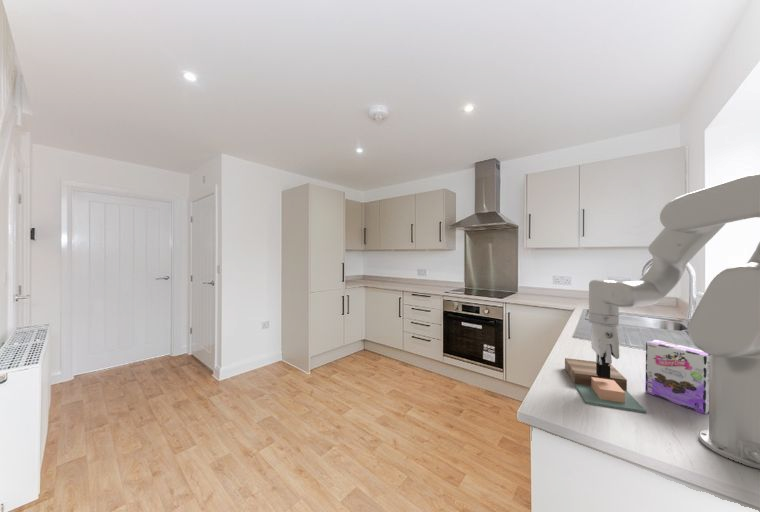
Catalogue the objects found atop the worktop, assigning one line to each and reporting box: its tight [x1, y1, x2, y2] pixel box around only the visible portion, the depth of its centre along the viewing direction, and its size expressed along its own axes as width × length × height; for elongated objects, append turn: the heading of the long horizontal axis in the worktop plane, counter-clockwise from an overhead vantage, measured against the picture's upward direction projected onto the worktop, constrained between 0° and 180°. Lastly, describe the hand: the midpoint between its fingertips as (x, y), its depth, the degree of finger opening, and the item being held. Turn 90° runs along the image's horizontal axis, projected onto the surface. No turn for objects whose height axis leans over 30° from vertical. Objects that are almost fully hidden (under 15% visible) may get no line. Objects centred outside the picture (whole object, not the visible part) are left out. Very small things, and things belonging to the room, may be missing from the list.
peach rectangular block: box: [591, 377, 625, 403], centre depth 89 cm, size 9×6×3 cm, turn 158°
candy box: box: [645, 339, 711, 415], centre depth 86 cm, size 14×6×16 cm, turn 21°
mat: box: [574, 384, 647, 414], centre depth 88 cm, size 12×14×1 cm
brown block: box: [564, 357, 628, 391], centre depth 101 cm, size 15×14×4 cm
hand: (603, 376), depth 92 cm, fingers closed
